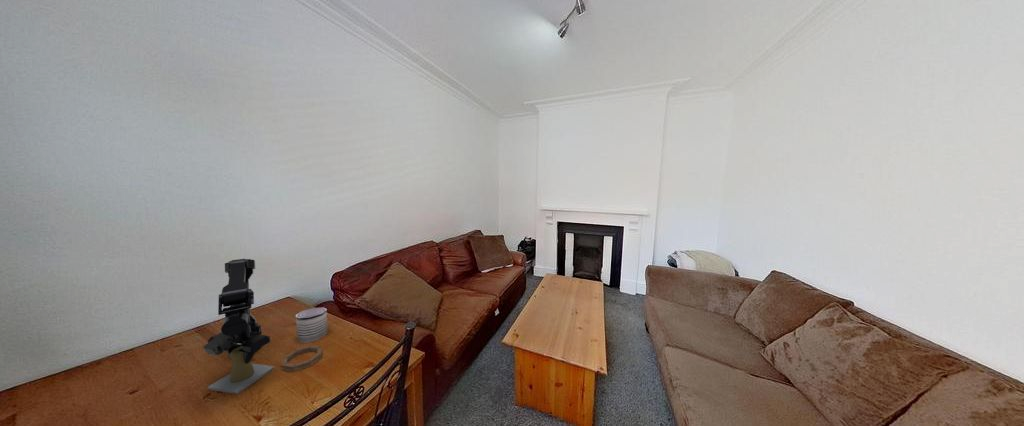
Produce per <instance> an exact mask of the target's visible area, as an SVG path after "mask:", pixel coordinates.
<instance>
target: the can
mask: <svg viewBox="0 0 1024 426" xmlns="http://www.w3.org/2000/svg"><path fill="white" fill-rule="evenodd" d="M327 310H328V309H327V308H325V307H324V306H323V307H312V308H309V309H305V310H301V311H300V312H299V313H297V314H296V315H295V322H296V323H295V324H296V336H297V340H298V342H299V343H304V344H305V343H310V342H314V341H317V340H319V339H321V338H323V337H325V336H326V334H327V333H328V318H327V315H328V314H327V313H328V312H327Z"/></svg>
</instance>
